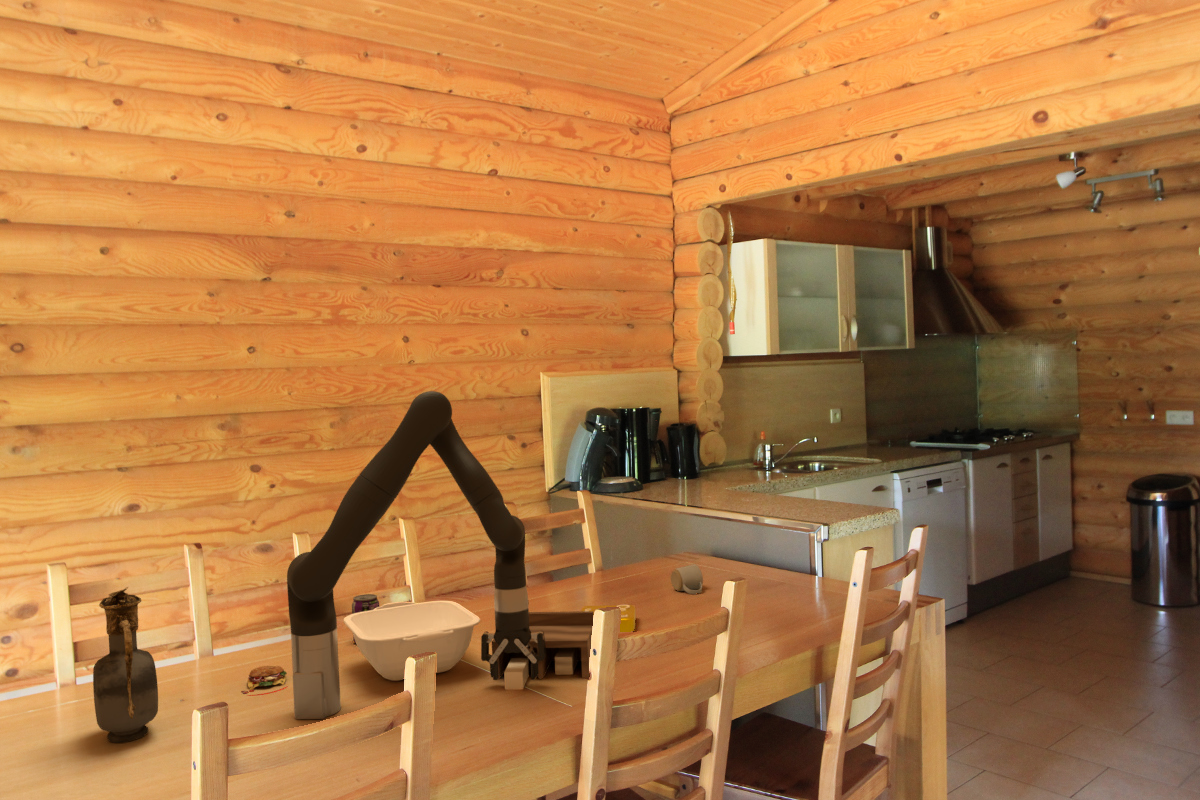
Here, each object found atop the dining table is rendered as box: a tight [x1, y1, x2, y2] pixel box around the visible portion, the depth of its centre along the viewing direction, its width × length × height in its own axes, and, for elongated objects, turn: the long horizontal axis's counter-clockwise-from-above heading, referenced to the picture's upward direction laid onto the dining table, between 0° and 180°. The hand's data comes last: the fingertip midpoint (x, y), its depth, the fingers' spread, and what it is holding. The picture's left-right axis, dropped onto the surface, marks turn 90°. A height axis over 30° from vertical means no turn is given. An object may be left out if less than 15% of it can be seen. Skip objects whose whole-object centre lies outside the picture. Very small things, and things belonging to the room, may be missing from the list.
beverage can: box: [351, 593, 380, 643], centre depth 238 cm, size 7×7×12 cm
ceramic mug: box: [670, 563, 704, 595], centre depth 280 cm, size 11×8×8 cm
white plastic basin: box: [343, 600, 481, 682], centre depth 213 cm, size 34×28×13 cm
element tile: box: [580, 604, 637, 632], centre depth 244 cm, size 15×15×5 cm
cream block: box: [503, 658, 530, 691], centre depth 202 cm, size 10×4×4 cm, turn 177°
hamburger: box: [240, 665, 289, 697], centre depth 206 cm, size 14×14×6 cm
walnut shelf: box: [491, 610, 594, 680], centre depth 210 cm, size 14×22×12 cm, turn 84°
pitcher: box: [92, 586, 159, 744], centre depth 177 cm, size 11×19×30 cm, turn 33°
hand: (514, 678), depth 199 cm, fingers open, 8 cm apart
